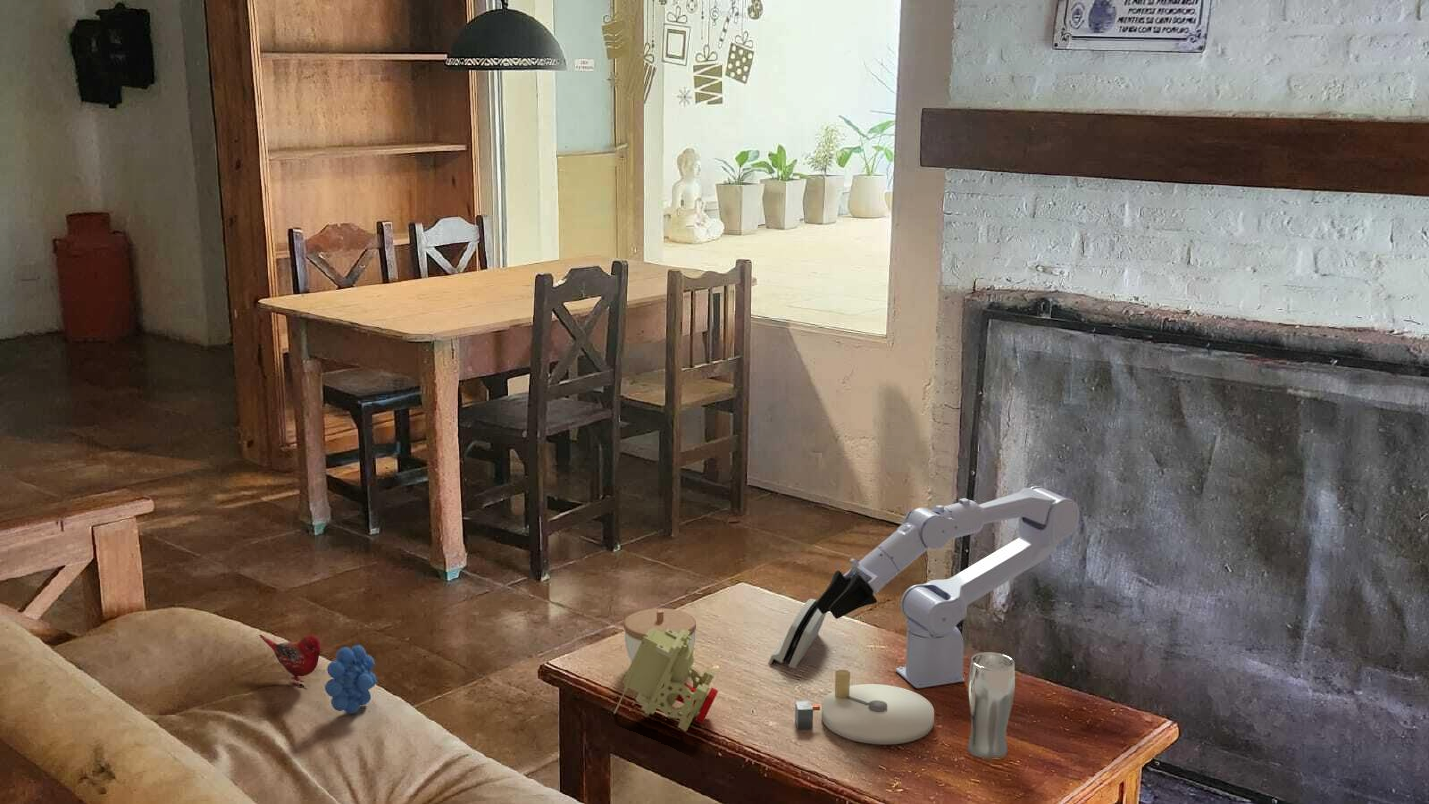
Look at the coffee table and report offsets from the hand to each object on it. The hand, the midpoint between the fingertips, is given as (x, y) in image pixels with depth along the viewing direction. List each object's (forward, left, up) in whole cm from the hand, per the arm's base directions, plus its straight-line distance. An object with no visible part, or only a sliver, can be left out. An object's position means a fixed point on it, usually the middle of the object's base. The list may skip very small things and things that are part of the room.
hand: (825, 611), depth 222 cm
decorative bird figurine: (+84, -35, -15) cm, 92 cm away
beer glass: (-16, +26, -15) cm, 34 cm away
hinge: (-4, -19, -16) cm, 25 cm away
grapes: (+75, -18, -15) cm, 78 cm away
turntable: (-4, +12, -15) cm, 20 cm away
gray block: (+7, +9, -15) cm, 19 cm away
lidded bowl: (+23, -19, -15) cm, 34 cm away
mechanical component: (+25, +1, -15) cm, 30 cm away
